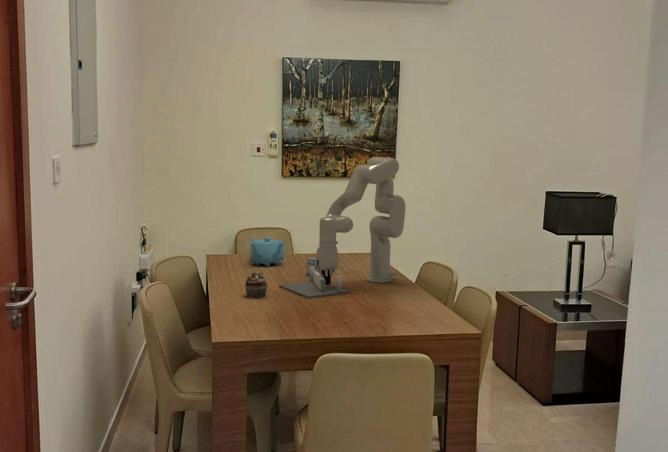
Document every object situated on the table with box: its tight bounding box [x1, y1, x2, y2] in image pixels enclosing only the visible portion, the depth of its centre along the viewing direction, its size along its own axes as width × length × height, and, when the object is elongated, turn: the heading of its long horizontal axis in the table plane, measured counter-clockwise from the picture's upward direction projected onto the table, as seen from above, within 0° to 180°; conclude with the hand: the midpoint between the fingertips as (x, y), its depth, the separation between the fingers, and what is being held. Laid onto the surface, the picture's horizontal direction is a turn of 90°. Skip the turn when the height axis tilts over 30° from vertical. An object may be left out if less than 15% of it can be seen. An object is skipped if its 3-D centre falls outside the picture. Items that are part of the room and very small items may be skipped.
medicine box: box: [306, 257, 323, 277], centre depth 320 cm, size 8×4×9 cm, turn 68°
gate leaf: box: [313, 271, 325, 291], centre depth 292 cm, size 2×19×5 cm, turn 13°
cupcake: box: [245, 272, 268, 299], centre depth 276 cm, size 10×10×10 cm
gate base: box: [278, 267, 351, 300], centre depth 290 cm, size 22×25×8 cm
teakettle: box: [249, 237, 286, 268], centre depth 346 cm, size 19×19×15 cm
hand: (327, 284), depth 291 cm, fingers closed
